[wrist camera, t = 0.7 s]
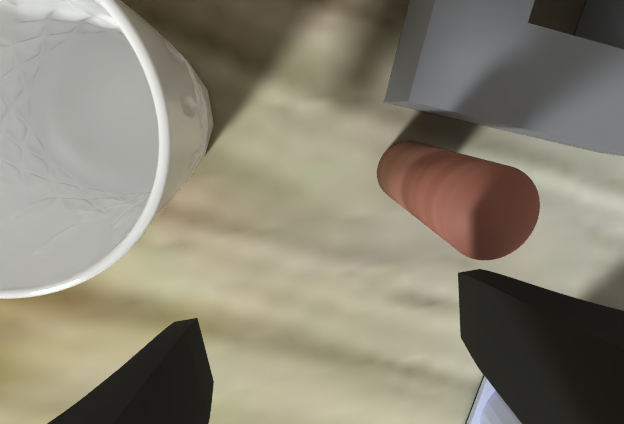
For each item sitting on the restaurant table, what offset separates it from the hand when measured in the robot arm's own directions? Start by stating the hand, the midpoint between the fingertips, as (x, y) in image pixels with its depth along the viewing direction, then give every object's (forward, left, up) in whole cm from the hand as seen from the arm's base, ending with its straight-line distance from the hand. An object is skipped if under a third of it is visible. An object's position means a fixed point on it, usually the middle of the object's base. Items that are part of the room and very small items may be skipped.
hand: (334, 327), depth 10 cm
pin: (-4, -4, -10) cm, 11 cm away
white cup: (+9, -4, -10) cm, 14 cm away
